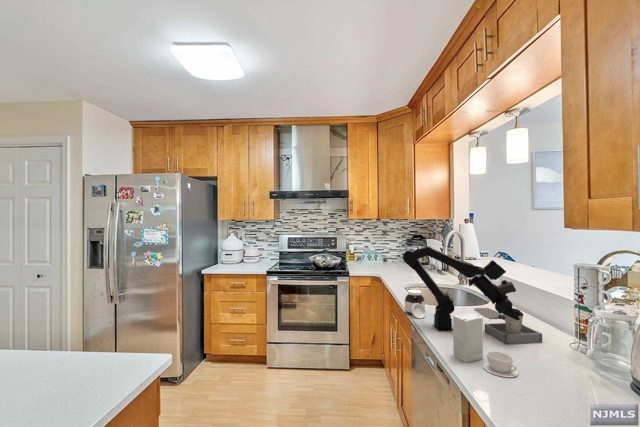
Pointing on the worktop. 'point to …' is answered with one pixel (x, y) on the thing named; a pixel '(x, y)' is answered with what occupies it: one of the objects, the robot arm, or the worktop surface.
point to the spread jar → (415, 304)
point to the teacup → (500, 364)
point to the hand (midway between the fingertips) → (517, 317)
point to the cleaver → (490, 313)
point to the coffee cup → (514, 323)
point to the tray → (524, 337)
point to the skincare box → (468, 337)
